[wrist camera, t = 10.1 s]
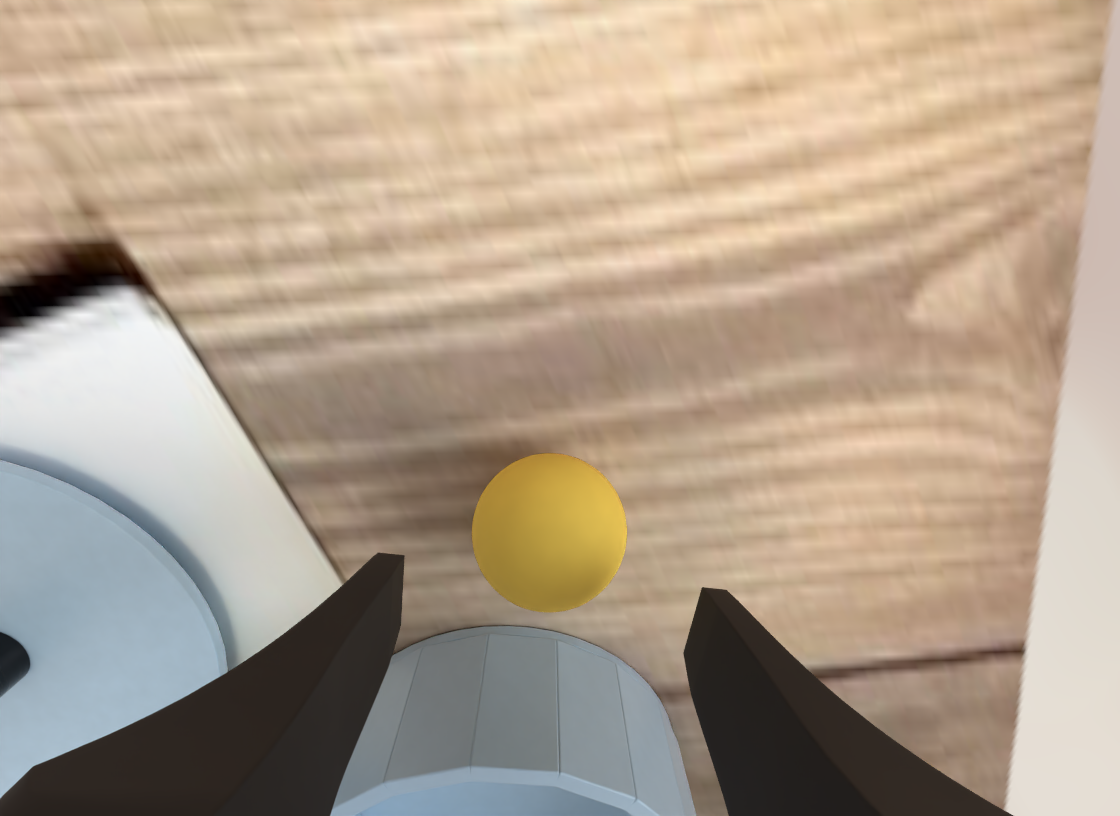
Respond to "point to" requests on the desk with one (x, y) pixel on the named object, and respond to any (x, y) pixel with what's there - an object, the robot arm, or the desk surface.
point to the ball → (549, 532)
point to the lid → (88, 622)
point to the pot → (514, 733)
